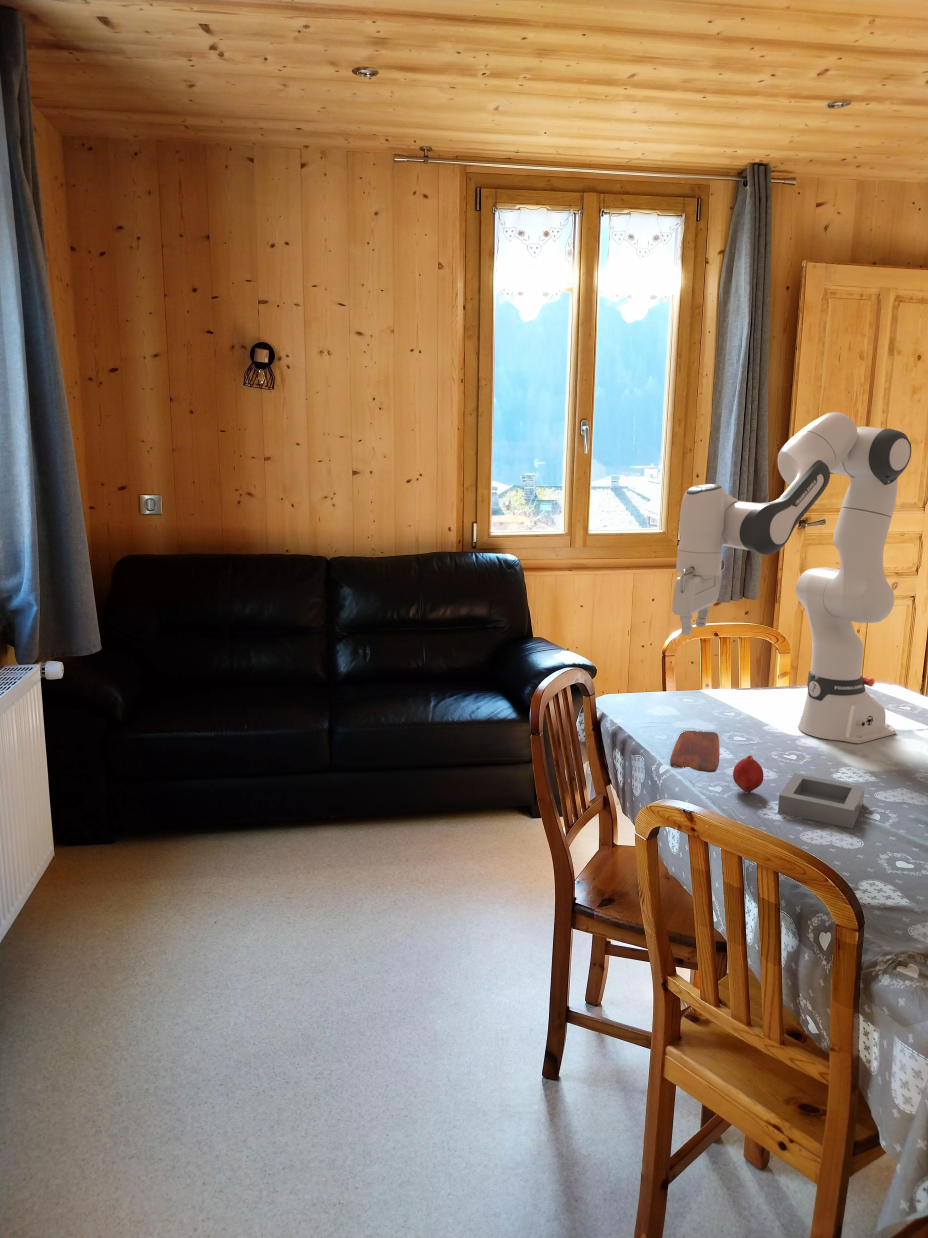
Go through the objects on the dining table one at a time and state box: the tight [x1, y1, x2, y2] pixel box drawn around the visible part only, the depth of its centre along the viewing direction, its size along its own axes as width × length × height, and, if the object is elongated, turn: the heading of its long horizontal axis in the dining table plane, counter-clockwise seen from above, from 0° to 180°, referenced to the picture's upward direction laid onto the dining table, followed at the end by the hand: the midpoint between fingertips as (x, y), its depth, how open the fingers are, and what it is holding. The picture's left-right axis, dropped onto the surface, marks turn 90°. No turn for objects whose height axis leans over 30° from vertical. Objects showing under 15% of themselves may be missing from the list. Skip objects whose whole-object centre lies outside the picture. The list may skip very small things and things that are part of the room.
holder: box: [777, 772, 866, 829], centre depth 168 cm, size 13×13×4 cm
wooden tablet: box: [669, 730, 720, 773], centre depth 200 cm, size 27×10×2 cm, turn 161°
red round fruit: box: [732, 754, 764, 794], centre depth 175 cm, size 6×6×8 cm
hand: (693, 630), depth 184 cm, fingers open, 8 cm apart
